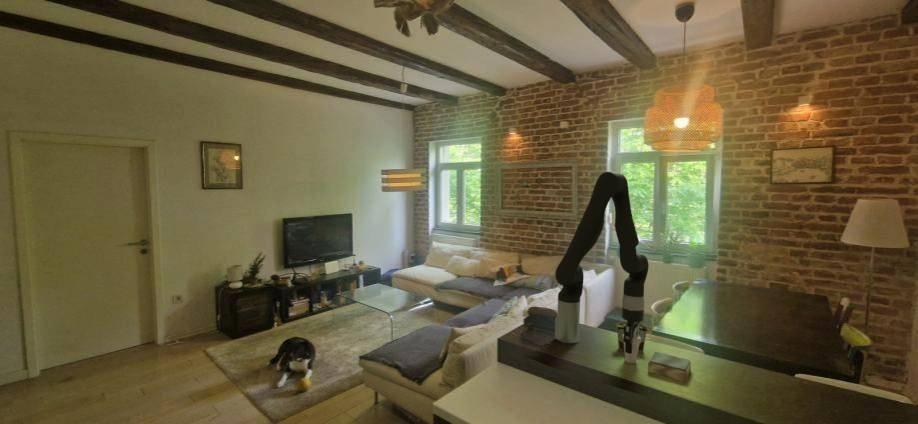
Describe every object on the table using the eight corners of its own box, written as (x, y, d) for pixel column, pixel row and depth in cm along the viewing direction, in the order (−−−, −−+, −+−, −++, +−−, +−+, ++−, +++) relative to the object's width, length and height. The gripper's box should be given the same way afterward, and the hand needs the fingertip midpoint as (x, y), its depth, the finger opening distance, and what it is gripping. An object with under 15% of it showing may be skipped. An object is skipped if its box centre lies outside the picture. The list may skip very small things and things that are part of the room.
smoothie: (632, 366, 142) (633, 328, 142) (617, 359, 148) (619, 323, 148) (643, 363, 145) (645, 326, 145) (629, 356, 151) (630, 321, 151)
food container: (641, 345, 163) (642, 322, 162) (647, 351, 157) (648, 327, 156) (611, 344, 164) (612, 320, 164) (615, 349, 158) (616, 325, 158)
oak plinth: (647, 371, 138) (648, 360, 138) (653, 361, 147) (654, 351, 147) (686, 382, 131) (687, 370, 131) (690, 370, 140) (691, 359, 140)
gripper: (627, 301, 154) (625, 341, 155) (617, 309, 142) (615, 352, 143) (647, 304, 149) (646, 346, 150) (639, 313, 138) (637, 358, 139)
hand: (631, 349), depth 147 cm, fingers open, 8 cm apart
